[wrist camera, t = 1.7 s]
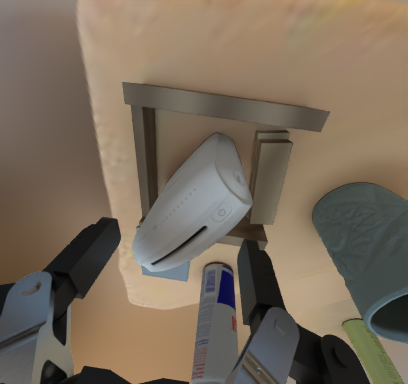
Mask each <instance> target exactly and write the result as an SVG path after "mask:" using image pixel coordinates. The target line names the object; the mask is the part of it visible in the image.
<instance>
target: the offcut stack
mask: <svg viewBox="0 0 408 384" xmlns="http://www.w3.org/2000/svg"><path fill="white" fill-rule="evenodd" d="M289 134H290V133H289V132H288V131H286V130H280V131H256V137H255V145H254V153H253V161H252V169H251V177H250V185H249V190H250V194H251V197H252V200H253V203H252V206H251V208H250V209H249V210H248V212H247V213H246V215H247V218H249V222H250V224H269V225H273V223H274V219H275V215H276V211H277V207H278V202H279V198H280V194H281V190H282V186H283V182H284V178H285V174H286V170H287V165H288V161H289V157H290V153H291V149H292V145H293V143H292V142H291V141H289V140H288V139H289Z"/></svg>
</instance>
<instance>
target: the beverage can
mask: <svg viewBox="0 0 408 384" xmlns="http://www.w3.org/2000/svg"><path fill="white" fill-rule="evenodd" d="M238 357H239V356H238V341H237V324H236V308H235V292H234V276H233V271H232V270H231V269H230V268H229V267H228V266H226V265H223V264H211V265H208V266H207V267H205V268H204V270H203V275H202V285H201V294H200V304H199V313H198V324H197V333H196V342H195V351H194V361H193V371H192V384H224V383H225V381H226V379H227V378H228V376H229V374H230V373H231V371H232V369H233V367H234V365H235V363H236V361H237V359H238Z"/></svg>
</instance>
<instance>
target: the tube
mask: <svg viewBox="0 0 408 384" xmlns="http://www.w3.org/2000/svg"><path fill="white" fill-rule="evenodd" d="M343 327H344V329H345V331H346V333H347V335H348V337H349V339H350V341H351V343H352V345H353V347H354V348H355V350H356V352H357V354H358V356H359V358H360V360H361V362H362V364H363V365H364V367H365V369H366V371H367V373H368V374H369V376H370V378H371V380H372V382H373V384H404V382H403V380H402V379H401V377H400V375H399V373H398V372H397V370H396V368H395V366H394V365H393V363H392V361H391V360H390V358H389V356H388V354H387V353H386V351H385V349H384V348H383V346H382V344H381V343H380V341H379V339H378V337H377V336H376V334H374V333H373V332H371V330H370V329H369V328H368V327H367V326H366V325H365V323H364V321H363V320H359V319H356V320H349V321H346V322H344V324H343Z"/></svg>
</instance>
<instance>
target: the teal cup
mask: <svg viewBox="0 0 408 384" xmlns="http://www.w3.org/2000/svg"><path fill="white" fill-rule="evenodd" d="M312 220H313V224H314V226H315V228H316V230H317V232H318V234H319V236H320V237H321V239H322V241H323V243H324V245H325V247H326V248H327V251H328V253H329V255H330V257H331V258H332V260H333V262H334V264H335V266H336V267H337V270H338V272H339V274H341V275H342V276H343V277H344V280H345V285H346V287H347V288H348V290H349V292H350V294H351V297H352V299H353V301H354V303H355V305H356V307H357V309H358V311H359V313H360V315H361V317H362V319H363V321H364V323H365V325H366V326H367V327H368V328H369V329H370V330H371V332H373V333H374V334H376V335H377V336H379V337H382V338H385V339H388V340H392V341H396V342H402V343H407V344H408V201H407V200H405V199H403V198H402V197H400V196H398V195H396V194H394V193H393V192H391V191H389V190H387V189H385V188H383V187H381V186H378V185H375V184H371V183H352V184H348V185H344V186H341V187H339V188H337V189H335V190H333V191H331V192H329V193H328V194H327V195H325V196H324V197H323V198H322V199H321V200H320V201H319V202H318V203H317V205H316V206H315V208H314V210H313V214H312Z"/></svg>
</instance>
